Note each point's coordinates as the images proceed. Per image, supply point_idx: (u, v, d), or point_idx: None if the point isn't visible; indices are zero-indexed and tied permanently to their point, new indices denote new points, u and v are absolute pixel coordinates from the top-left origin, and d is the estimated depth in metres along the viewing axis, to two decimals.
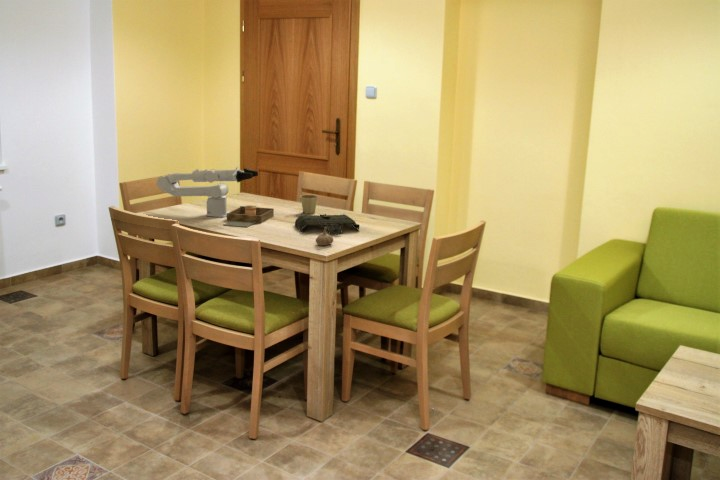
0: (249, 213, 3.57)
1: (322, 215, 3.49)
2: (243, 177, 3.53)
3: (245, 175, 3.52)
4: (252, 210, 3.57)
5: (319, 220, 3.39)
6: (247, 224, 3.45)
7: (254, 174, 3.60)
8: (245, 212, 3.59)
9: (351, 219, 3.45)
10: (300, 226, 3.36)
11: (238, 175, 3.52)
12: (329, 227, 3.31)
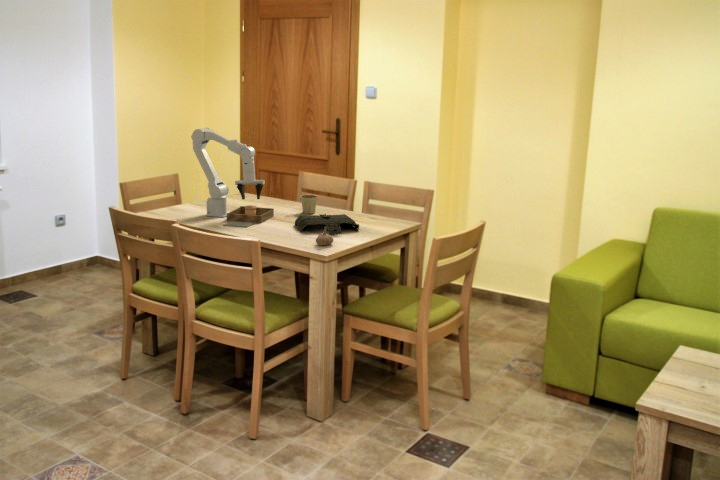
0: (249, 213, 3.57)
1: (322, 215, 3.49)
2: None
3: None
4: (252, 210, 3.57)
5: (319, 220, 3.40)
6: (247, 224, 3.45)
7: None
8: (245, 212, 3.59)
9: (351, 219, 3.45)
10: (300, 226, 3.37)
11: None
12: (329, 227, 3.32)
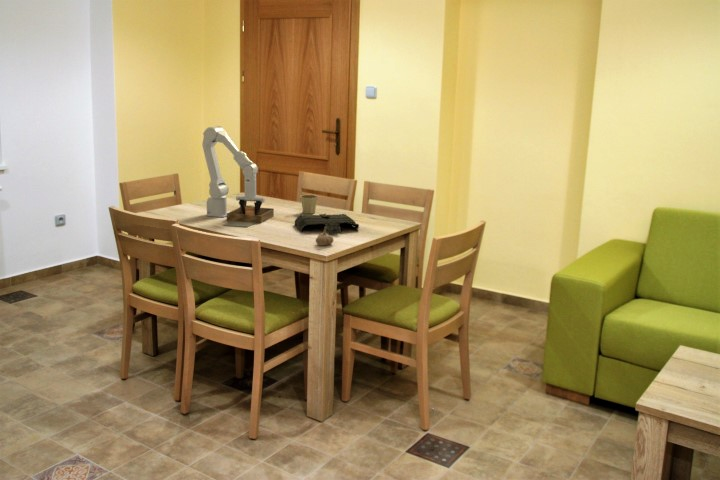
0: (249, 213, 3.57)
1: (322, 215, 3.50)
2: None
3: None
4: (252, 210, 3.57)
5: (318, 220, 3.40)
6: (247, 224, 3.45)
7: None
8: (245, 212, 3.59)
9: (350, 219, 3.45)
10: (299, 226, 3.37)
11: None
12: (328, 227, 3.32)
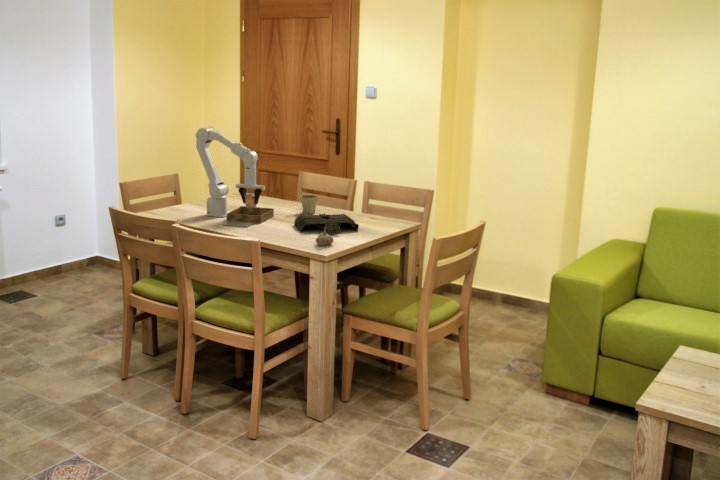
0: (249, 201, 3.56)
1: (321, 214, 3.50)
2: None
3: None
4: (252, 198, 3.56)
5: (318, 219, 3.40)
6: (247, 224, 3.45)
7: None
8: (245, 200, 3.57)
9: (350, 219, 3.45)
10: (299, 225, 3.37)
11: None
12: (328, 227, 3.32)
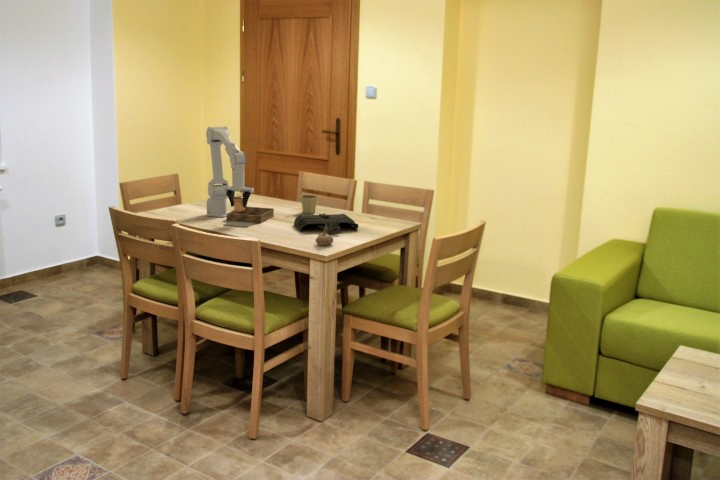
0: (238, 205, 3.42)
1: (321, 214, 3.50)
2: None
3: None
4: (241, 202, 3.42)
5: (318, 219, 3.40)
6: (247, 224, 3.45)
7: None
8: (234, 204, 3.44)
9: (350, 218, 3.46)
10: (299, 225, 3.37)
11: None
12: (328, 226, 3.32)
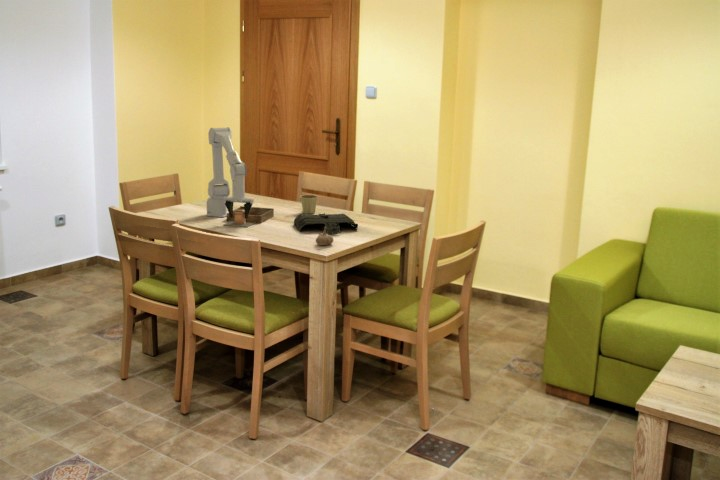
0: (238, 218, 3.44)
1: (321, 214, 3.50)
2: None
3: None
4: (241, 214, 3.44)
5: (318, 219, 3.41)
6: (247, 224, 3.45)
7: None
8: None
9: (350, 218, 3.46)
10: (299, 225, 3.38)
11: None
12: (327, 226, 3.33)
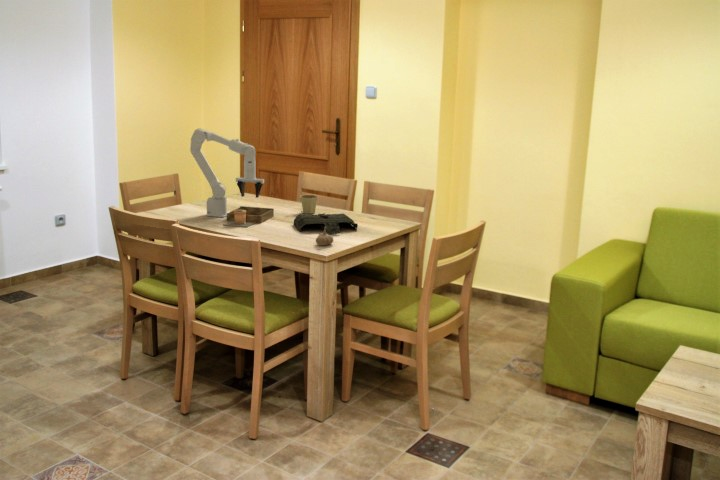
0: (238, 218, 3.44)
1: (321, 214, 3.51)
2: None
3: None
4: (241, 214, 3.44)
5: (317, 219, 3.41)
6: (247, 224, 3.45)
7: None
8: None
9: (349, 218, 3.46)
10: (298, 225, 3.38)
11: None
12: (327, 226, 3.33)
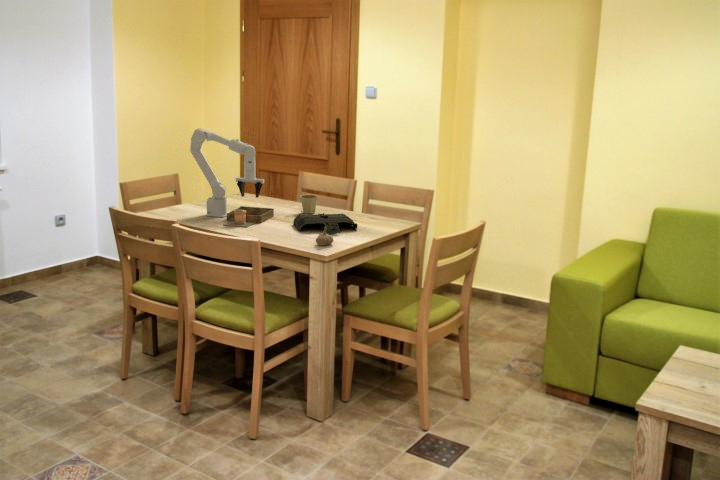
0: (238, 217, 3.44)
1: (320, 214, 3.51)
2: None
3: None
4: (241, 214, 3.44)
5: (317, 219, 3.41)
6: (247, 224, 3.45)
7: None
8: None
9: (349, 218, 3.46)
10: (298, 225, 3.38)
11: None
12: (327, 226, 3.33)
